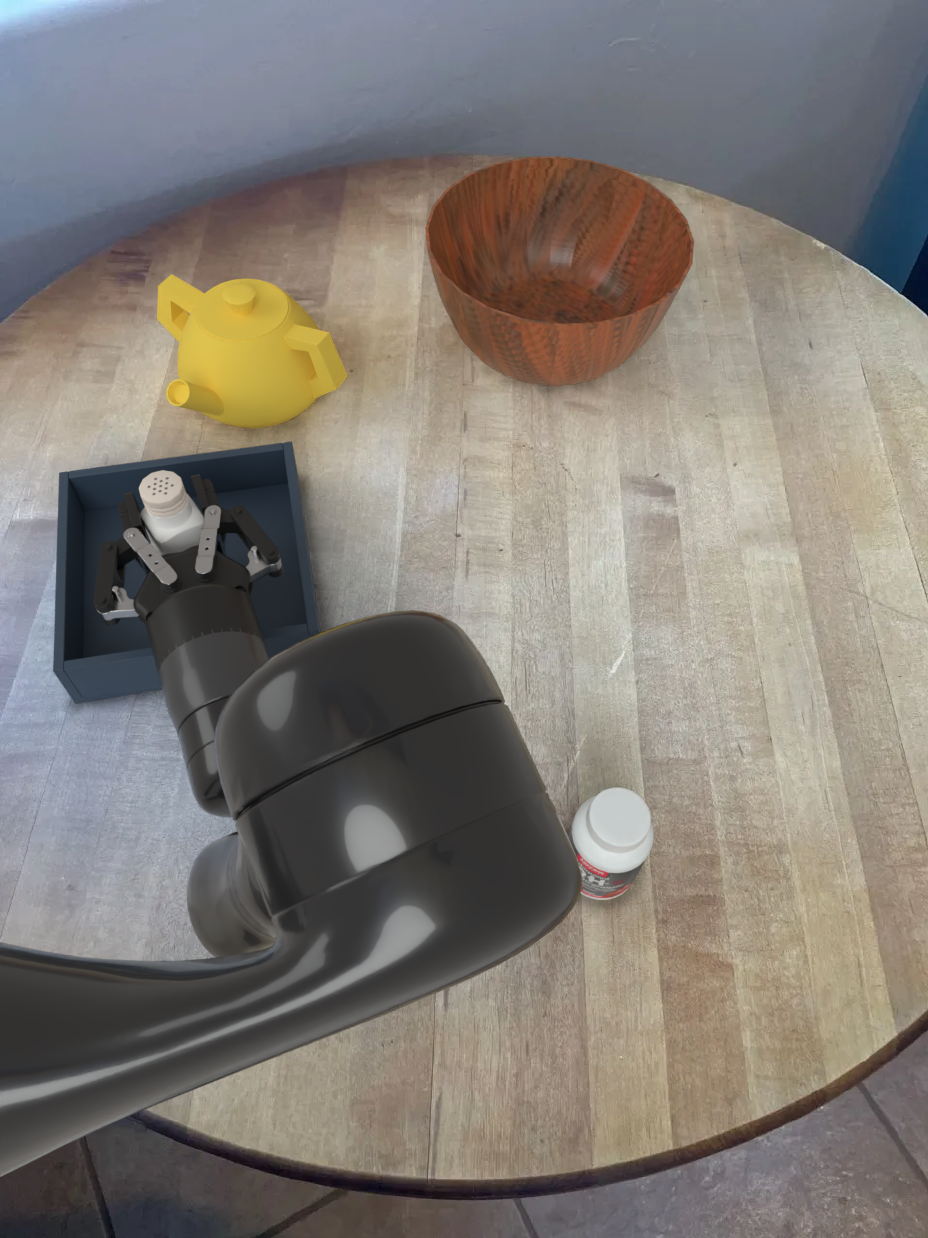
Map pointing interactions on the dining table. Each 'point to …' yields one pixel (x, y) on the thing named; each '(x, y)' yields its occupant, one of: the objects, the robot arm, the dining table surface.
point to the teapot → (246, 352)
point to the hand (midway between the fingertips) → (164, 491)
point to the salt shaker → (169, 513)
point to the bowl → (556, 265)
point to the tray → (89, 517)
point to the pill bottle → (611, 841)
